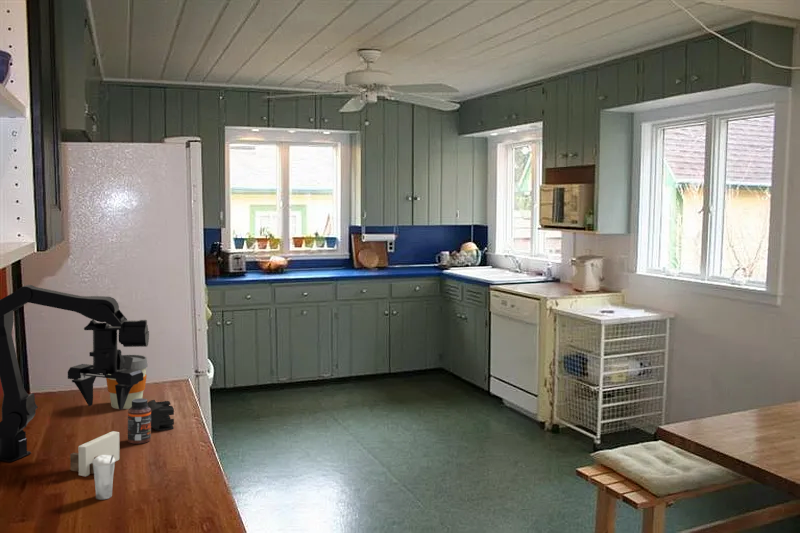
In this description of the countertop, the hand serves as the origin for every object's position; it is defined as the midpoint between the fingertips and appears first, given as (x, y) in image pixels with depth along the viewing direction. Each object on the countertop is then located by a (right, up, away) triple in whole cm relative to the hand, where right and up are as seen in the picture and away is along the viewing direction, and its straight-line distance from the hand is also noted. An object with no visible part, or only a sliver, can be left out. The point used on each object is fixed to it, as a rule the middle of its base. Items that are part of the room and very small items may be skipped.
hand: (105, 407), depth 180 cm
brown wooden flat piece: (+1, -13, -12) cm, 18 cm away
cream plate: (+2, -13, -8) cm, 16 cm away
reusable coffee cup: (-12, -8, +45) cm, 47 cm away
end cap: (+5, -11, +24) cm, 27 cm away
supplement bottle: (+5, -12, +11) cm, 17 cm away
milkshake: (+11, -15, -26) cm, 32 cm away
